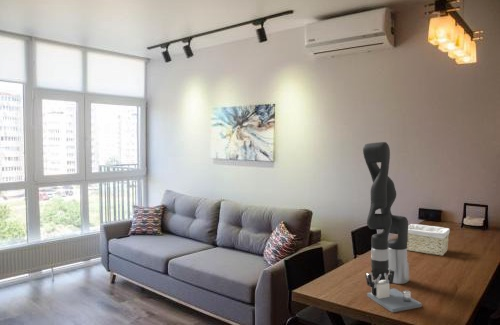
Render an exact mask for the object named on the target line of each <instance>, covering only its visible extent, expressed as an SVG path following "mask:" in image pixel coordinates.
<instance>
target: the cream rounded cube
mask: <svg viewBox="0 0 500 325" xmlns="http://www.w3.org/2000/svg"><path fill="white" fill-rule="evenodd" d="M376 285H377V286H376V296H375V297H377V298H379V299H380V298H386V297H390V292H389V289H390V285H389V283H386V282H385V281H383V280H380V281H379V283H378V284H376ZM370 291H371V294H372V289H370ZM372 295H373V294H372Z"/></svg>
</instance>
